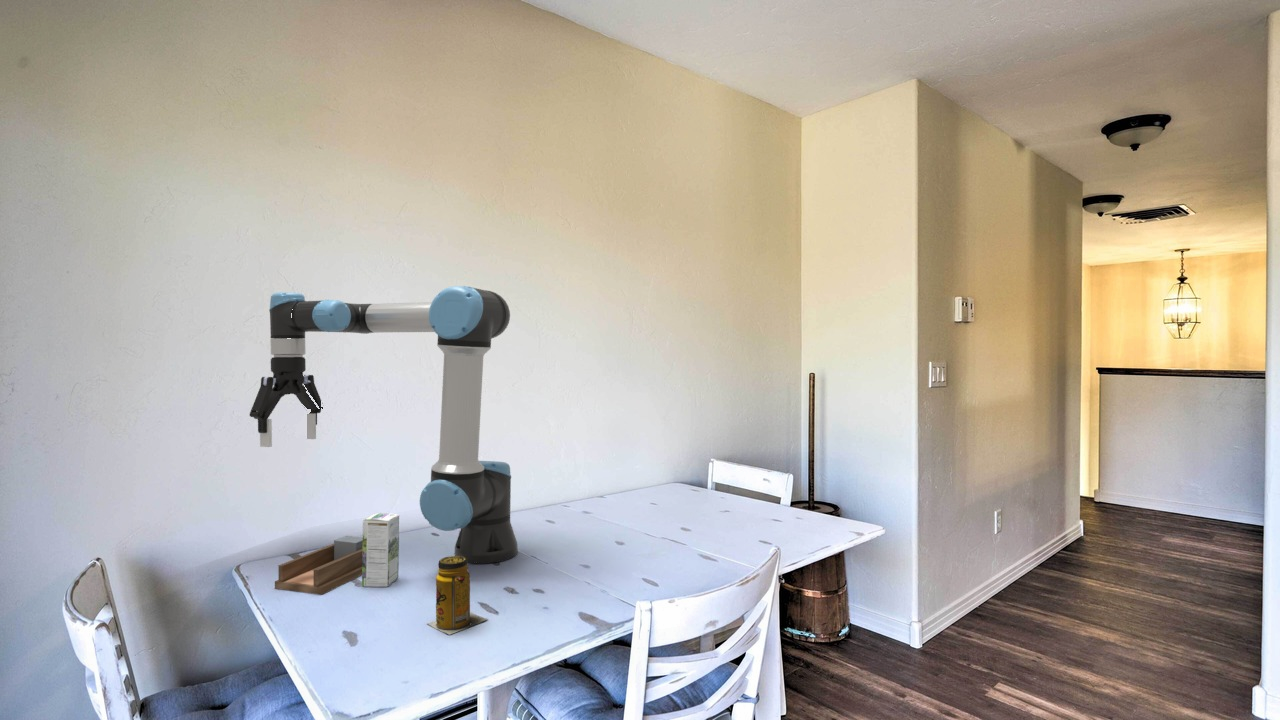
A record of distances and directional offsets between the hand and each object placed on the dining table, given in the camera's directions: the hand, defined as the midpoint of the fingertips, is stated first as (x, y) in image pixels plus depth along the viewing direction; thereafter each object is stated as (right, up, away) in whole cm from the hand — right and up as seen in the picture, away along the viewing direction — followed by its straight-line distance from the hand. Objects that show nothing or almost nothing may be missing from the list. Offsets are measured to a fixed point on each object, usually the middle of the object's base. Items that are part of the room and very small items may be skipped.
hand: (289, 442), depth 159 cm
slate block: (+19, -26, -9) cm, 34 cm away
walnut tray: (+17, -28, -15) cm, 36 cm away
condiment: (+52, -29, -39) cm, 71 cm away
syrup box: (+30, -28, -19) cm, 45 cm away
